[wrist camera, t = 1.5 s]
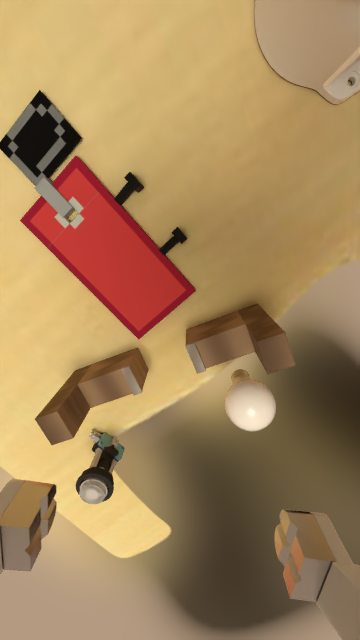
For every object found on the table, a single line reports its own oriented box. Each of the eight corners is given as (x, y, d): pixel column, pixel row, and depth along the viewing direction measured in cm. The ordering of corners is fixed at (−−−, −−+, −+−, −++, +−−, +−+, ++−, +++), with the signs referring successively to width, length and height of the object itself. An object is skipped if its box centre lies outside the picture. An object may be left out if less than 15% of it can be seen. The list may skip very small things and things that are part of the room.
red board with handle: (53, 80, 33) (-19, 175, 36) (41, 67, 30) (-36, 171, 33) (215, 271, 39) (140, 335, 43) (217, 274, 36) (137, 343, 40)
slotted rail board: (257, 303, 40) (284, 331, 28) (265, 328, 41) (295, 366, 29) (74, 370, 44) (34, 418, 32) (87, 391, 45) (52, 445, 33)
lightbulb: (242, 399, 44) (258, 451, 34) (210, 378, 43) (217, 424, 33) (268, 371, 43) (294, 416, 32) (236, 349, 42) (252, 387, 31)
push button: (84, 437, 48) (57, 488, 38) (103, 419, 46) (81, 467, 37) (113, 459, 49) (94, 514, 39) (132, 443, 48) (118, 495, 38)
